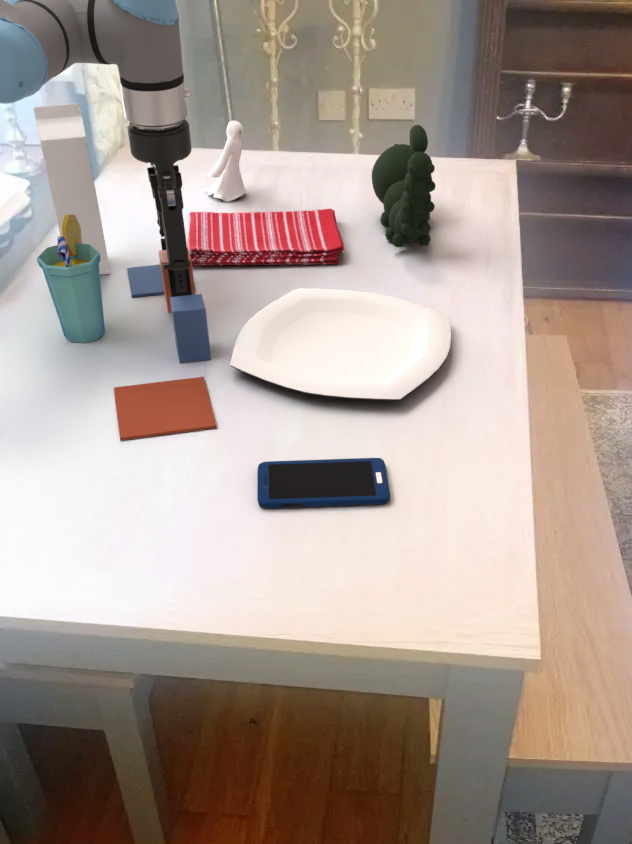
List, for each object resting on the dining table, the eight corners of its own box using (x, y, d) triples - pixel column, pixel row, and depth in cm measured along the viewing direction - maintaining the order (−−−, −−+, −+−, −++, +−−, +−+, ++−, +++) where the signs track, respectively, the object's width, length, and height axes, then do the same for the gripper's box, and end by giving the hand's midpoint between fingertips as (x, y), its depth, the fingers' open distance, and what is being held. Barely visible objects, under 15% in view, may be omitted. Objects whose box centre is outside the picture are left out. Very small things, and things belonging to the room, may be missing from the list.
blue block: (179, 363, 114) (172, 311, 109) (176, 348, 117) (169, 296, 112) (211, 359, 115) (205, 308, 110) (206, 344, 117) (201, 293, 112)
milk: (110, 274, 132) (82, 110, 116) (68, 279, 131) (34, 114, 115) (106, 256, 136) (78, 96, 120) (65, 261, 135) (32, 99, 119)
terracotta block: (168, 312, 124) (161, 262, 119) (165, 299, 126) (158, 250, 121) (197, 309, 124) (191, 259, 119) (193, 296, 127) (187, 247, 122)
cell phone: (391, 504, 94) (391, 498, 93) (257, 509, 93) (257, 503, 92) (384, 462, 99) (384, 456, 98) (257, 466, 98) (257, 461, 98)
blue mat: (132, 297, 127) (131, 295, 126) (127, 270, 133) (126, 267, 133) (195, 291, 128) (195, 288, 128) (188, 264, 134) (187, 261, 134)
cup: (116, 360, 114) (94, 243, 104) (53, 366, 113) (25, 249, 103) (112, 309, 124) (92, 198, 114) (55, 314, 123) (29, 202, 112)
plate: (413, 428, 104) (414, 413, 103) (203, 384, 110) (202, 369, 109) (470, 322, 122) (472, 309, 120) (287, 290, 128) (286, 277, 127)
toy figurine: (443, 271, 137) (420, 194, 153) (458, 143, 122) (430, 72, 138) (382, 273, 136) (365, 195, 152) (390, 144, 122) (369, 73, 138)
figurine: (239, 206, 150) (234, 129, 142) (195, 200, 152) (187, 124, 143) (254, 189, 155) (250, 114, 147) (212, 184, 157) (205, 109, 148)
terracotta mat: (120, 440, 102) (119, 437, 102) (114, 390, 109) (113, 387, 109) (216, 428, 104) (216, 425, 103) (204, 379, 111) (203, 376, 111)
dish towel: (345, 265, 134) (345, 248, 132) (185, 267, 133) (184, 250, 131) (336, 220, 146) (336, 203, 144) (190, 221, 145) (188, 204, 143)
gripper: (199, 147, 103) (217, 329, 119) (178, 92, 117) (196, 262, 133) (133, 153, 102) (160, 336, 118) (119, 96, 115) (145, 267, 132)
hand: (179, 296), depth 126 cm, fingers open, 7 cm apart
